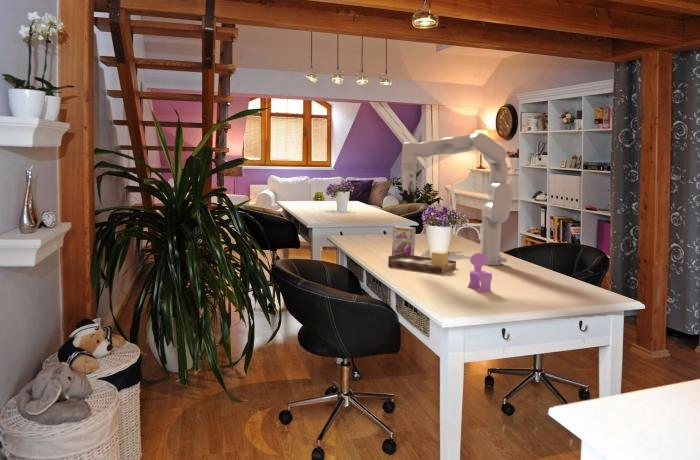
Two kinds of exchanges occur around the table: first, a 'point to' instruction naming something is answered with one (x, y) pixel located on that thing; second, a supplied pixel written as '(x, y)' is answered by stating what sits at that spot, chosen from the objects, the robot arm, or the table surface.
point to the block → (439, 258)
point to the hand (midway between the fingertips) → (407, 201)
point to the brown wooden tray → (418, 263)
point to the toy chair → (479, 273)
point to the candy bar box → (403, 240)
